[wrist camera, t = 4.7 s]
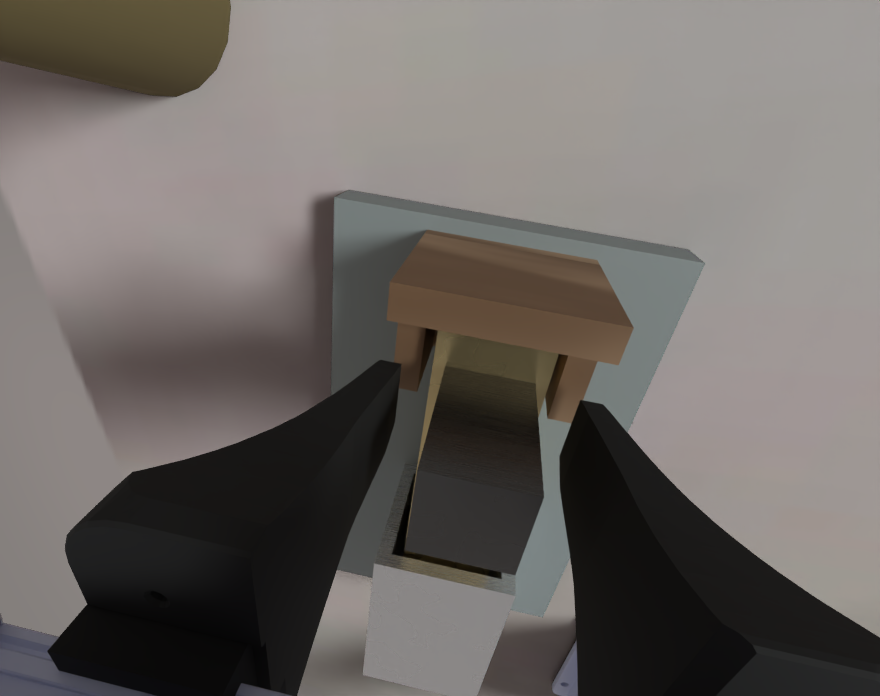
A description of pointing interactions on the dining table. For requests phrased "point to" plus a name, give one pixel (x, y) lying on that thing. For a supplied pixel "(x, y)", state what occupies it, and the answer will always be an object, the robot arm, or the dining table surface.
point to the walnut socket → (508, 309)
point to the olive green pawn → (118, 40)
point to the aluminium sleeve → (431, 613)
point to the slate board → (374, 338)
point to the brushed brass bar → (479, 455)
